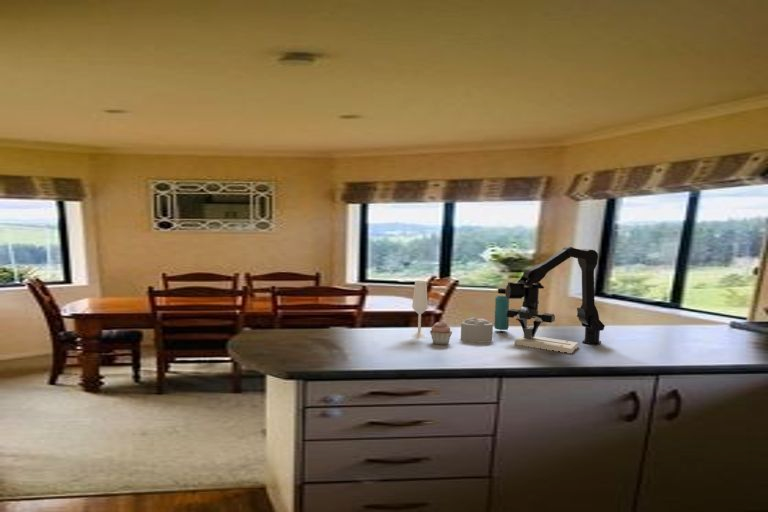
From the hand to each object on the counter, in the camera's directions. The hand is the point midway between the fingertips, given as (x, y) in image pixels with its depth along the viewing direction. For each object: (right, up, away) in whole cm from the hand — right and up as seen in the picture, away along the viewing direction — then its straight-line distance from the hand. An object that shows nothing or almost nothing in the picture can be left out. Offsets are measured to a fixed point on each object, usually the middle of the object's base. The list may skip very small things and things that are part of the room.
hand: (529, 335), depth 197 cm
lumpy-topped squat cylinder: (-22, -3, +5) cm, 22 cm away
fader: (0, -1, 0) cm, 0 cm away
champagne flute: (-45, -2, +8) cm, 46 cm away
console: (+6, -3, -4) cm, 8 cm away
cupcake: (-37, -3, -3) cm, 38 cm away
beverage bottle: (-7, -2, +20) cm, 22 cm away
